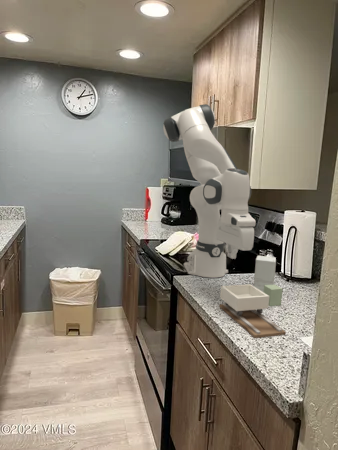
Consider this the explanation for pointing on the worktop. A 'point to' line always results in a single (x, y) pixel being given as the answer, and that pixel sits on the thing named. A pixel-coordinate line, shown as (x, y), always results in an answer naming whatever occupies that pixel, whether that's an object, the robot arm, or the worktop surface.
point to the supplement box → (264, 272)
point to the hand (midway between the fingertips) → (231, 257)
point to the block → (273, 294)
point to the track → (254, 322)
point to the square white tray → (244, 298)
